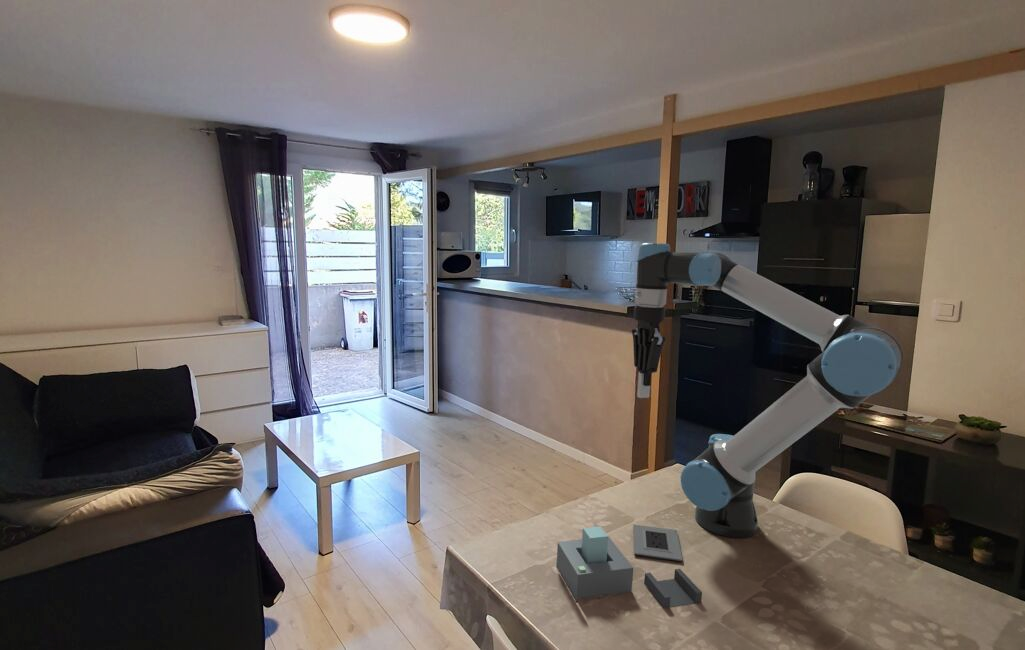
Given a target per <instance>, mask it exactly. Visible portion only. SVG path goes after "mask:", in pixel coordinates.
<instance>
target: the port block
mask: <svg viewBox="0 0 1025 650" xmlns="http://www.w3.org/2000/svg"><path fill="white" fill-rule="evenodd" d="M556 548H557V550H556V569H557V571H558V573H559V574H560V576H561V579H562V580H563V582H564V584H565V585H566V587H567V589H568V591H569V592H570V594H571V596H572V598H573V600H574V601H575V603H579V601H578V600H579V599H588V598H594V597H600V596H601V597H602V596H609V595H617V594H623V593H631V592H632V591H633V577H634V567H633V565H632V564H631V562H630V561H629V560H628V559H627V558H626V556H625V555H624V553H622V551H621V550H620V549H619V548H618V546H617V545H616V544H615V542H614V541H613V540H612V539H611V537H610V536H609V535H608V548H607V562H600V563H592V564H586V563H585V561H584V560H583V558H582V557H581V552H582V538H581V539H573V540H562V541H558V542H557V547H556Z"/></svg>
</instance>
